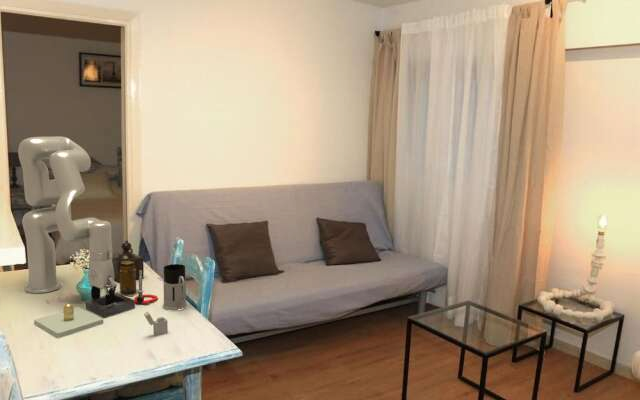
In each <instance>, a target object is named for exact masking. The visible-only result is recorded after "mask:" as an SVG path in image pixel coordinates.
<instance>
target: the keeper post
mask: <svg viewBox="0 0 640 400" xmlns="http://www.w3.org/2000/svg"><path fill="white" fill-rule="evenodd" d="M73 309H74V306H73V304H72V303H70V302H69V303H66V304H64V305H63V307H62V310H63V311H62V312H63V314H64V321H72V320H74V311H73Z"/></svg>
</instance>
